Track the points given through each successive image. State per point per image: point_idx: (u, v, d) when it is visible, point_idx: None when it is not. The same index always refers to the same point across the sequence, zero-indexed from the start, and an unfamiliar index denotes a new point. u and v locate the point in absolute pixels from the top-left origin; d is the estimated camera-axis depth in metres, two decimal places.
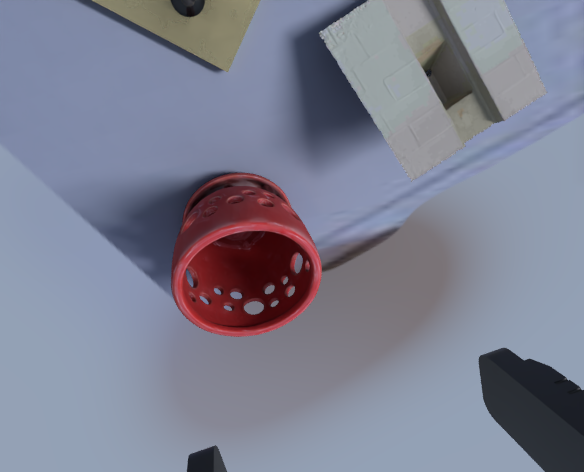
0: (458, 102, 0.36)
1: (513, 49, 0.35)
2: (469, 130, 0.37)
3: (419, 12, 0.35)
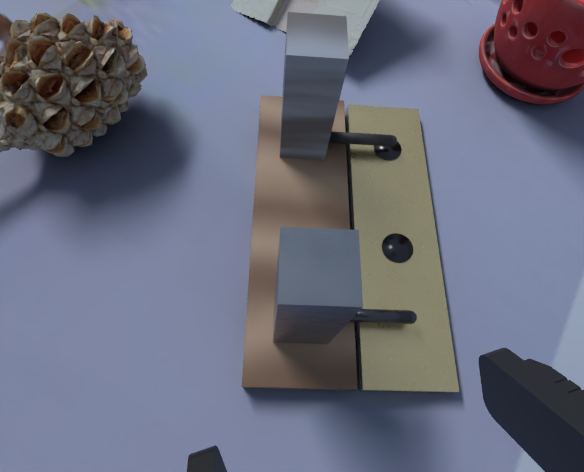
0: None
1: None
2: None
3: (294, 8, 0.43)
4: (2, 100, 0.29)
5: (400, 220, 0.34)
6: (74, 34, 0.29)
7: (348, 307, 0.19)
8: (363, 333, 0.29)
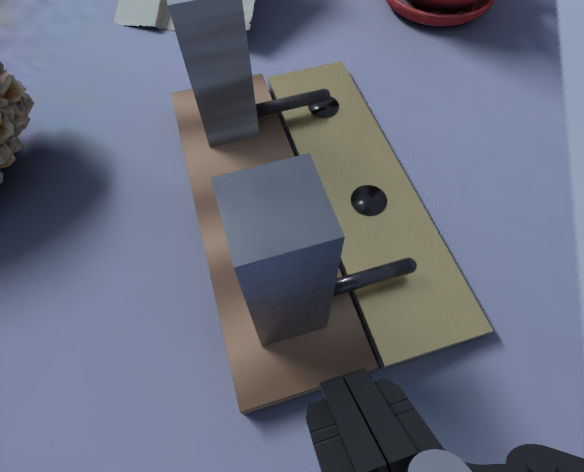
0: None
1: None
2: None
3: None
4: None
5: (361, 172, 0.30)
6: None
7: (326, 243, 0.14)
8: (363, 302, 0.25)
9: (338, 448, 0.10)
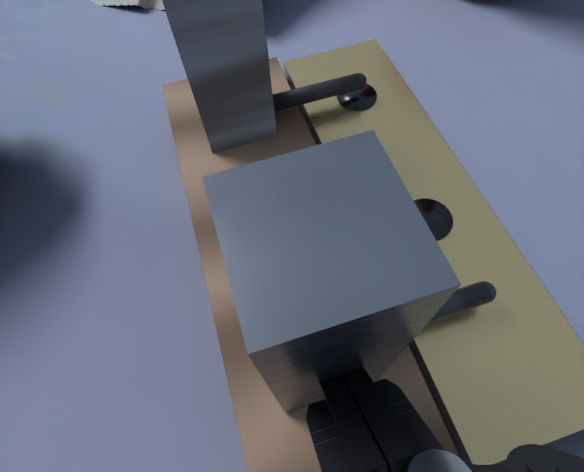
0: None
1: None
2: None
3: None
4: None
5: (414, 181, 0.22)
6: None
7: (425, 298, 0.07)
8: (434, 369, 0.17)
9: (338, 448, 0.10)
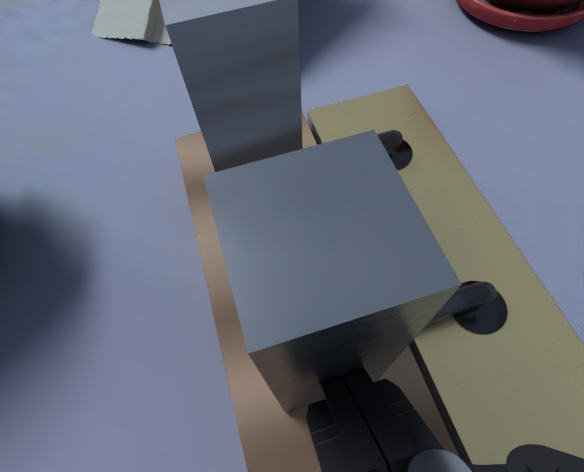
0: None
1: None
2: None
3: None
4: None
5: (460, 258, 0.20)
6: None
7: (425, 298, 0.07)
8: None
9: (338, 449, 0.10)
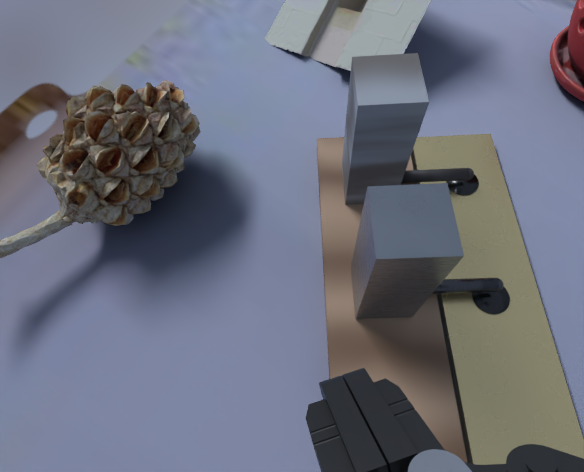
0: None
1: None
2: None
3: (329, 36, 0.42)
4: (63, 179, 0.28)
5: (489, 264, 0.30)
6: (129, 105, 0.28)
7: (448, 258, 0.18)
8: (465, 402, 0.26)
9: (338, 449, 0.10)
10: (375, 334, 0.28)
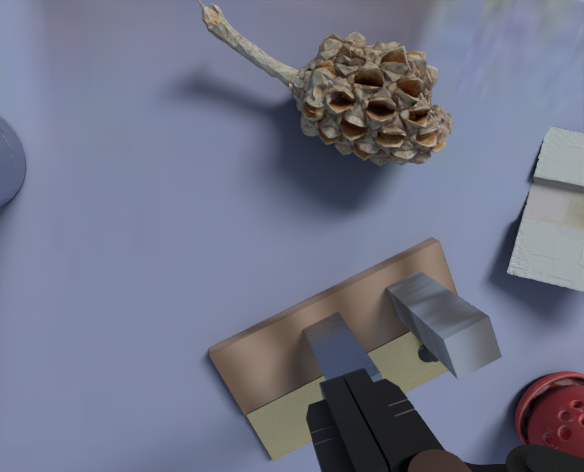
0: None
1: None
2: None
3: (557, 197, 0.42)
4: (321, 88, 0.29)
5: None
6: (410, 125, 0.29)
7: None
8: (280, 400, 0.42)
9: (338, 449, 0.10)
10: (298, 343, 0.40)
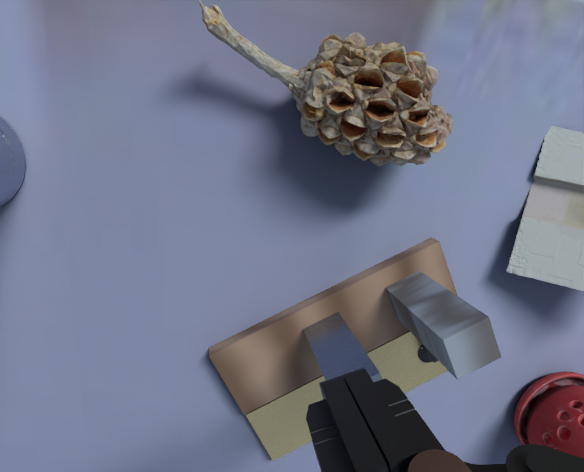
0: None
1: None
2: None
3: (557, 196, 0.42)
4: (321, 89, 0.29)
5: None
6: (410, 125, 0.29)
7: None
8: (279, 400, 0.42)
9: (338, 449, 0.10)
10: (298, 343, 0.40)
